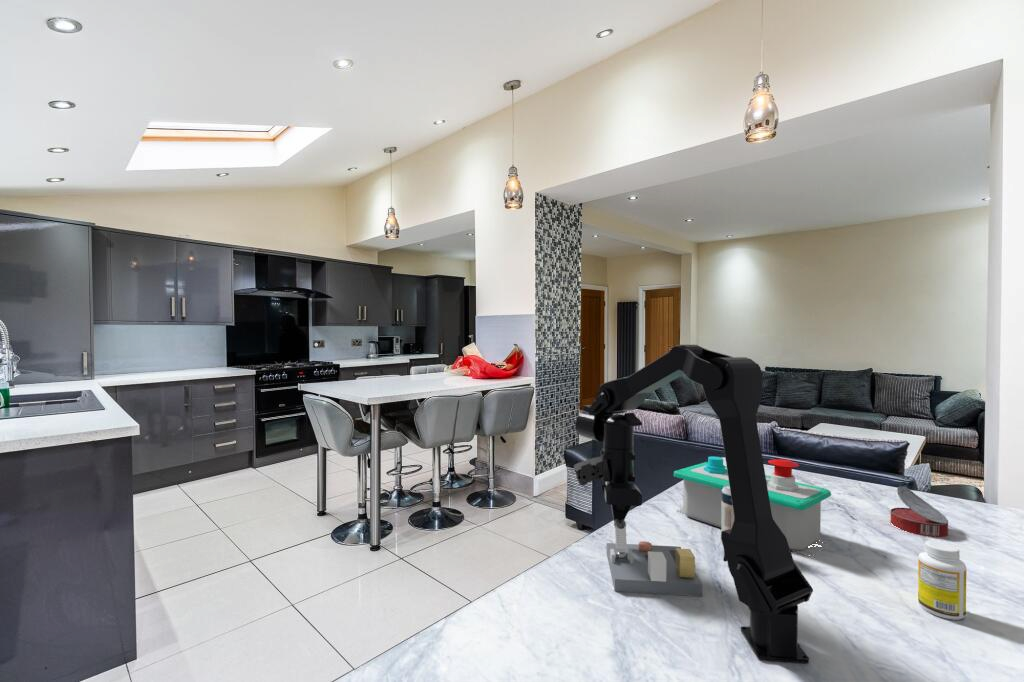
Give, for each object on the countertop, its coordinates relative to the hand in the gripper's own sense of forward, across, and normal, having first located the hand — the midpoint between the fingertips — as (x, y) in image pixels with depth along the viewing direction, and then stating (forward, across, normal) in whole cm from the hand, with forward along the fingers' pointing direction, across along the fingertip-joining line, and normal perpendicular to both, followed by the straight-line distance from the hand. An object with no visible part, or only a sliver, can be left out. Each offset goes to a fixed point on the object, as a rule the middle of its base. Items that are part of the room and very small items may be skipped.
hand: (617, 526), depth 93 cm
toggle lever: (+3, +7, 0) cm, 7 cm away
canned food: (+6, -21, +69) cm, 72 cm away
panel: (+5, +7, +5) cm, 10 cm away
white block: (+3, +13, +5) cm, 14 cm away
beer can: (+6, -6, +24) cm, 25 cm away
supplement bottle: (+6, +14, +48) cm, 50 cm away
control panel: (+6, -18, +31) cm, 36 cm away
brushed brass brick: (+3, +11, +10) cm, 15 cm away
